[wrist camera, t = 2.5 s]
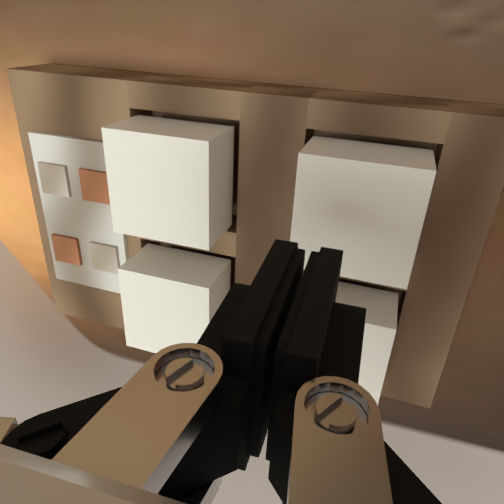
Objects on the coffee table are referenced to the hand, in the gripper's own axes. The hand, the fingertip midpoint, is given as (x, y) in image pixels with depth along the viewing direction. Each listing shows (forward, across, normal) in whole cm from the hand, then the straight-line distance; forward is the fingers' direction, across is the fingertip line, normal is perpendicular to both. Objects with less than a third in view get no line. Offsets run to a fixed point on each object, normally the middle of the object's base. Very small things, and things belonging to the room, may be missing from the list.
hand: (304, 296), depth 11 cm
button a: (+9, -1, 0) cm, 9 cm away
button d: (+9, +7, +7) cm, 13 cm away
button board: (+12, +5, +4) cm, 13 cm away
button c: (+9, +7, 0) cm, 11 cm away
